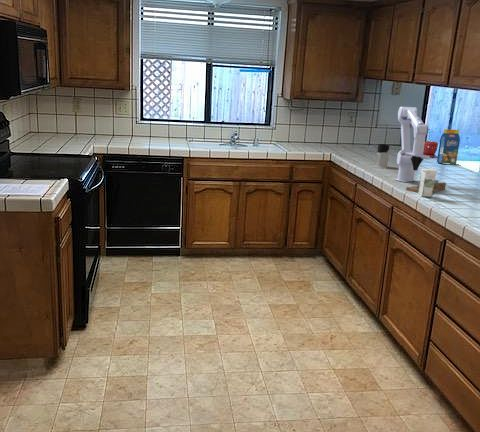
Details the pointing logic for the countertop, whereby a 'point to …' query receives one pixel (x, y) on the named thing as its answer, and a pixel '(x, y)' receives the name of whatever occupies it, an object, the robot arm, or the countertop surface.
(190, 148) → the countertop surface
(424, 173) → the syrup box
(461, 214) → the countertop surface
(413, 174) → the robot arm
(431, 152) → the plant pot
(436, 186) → the shelf
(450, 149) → the blue food package
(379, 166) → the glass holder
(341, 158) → the countertop surface
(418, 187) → the tray
